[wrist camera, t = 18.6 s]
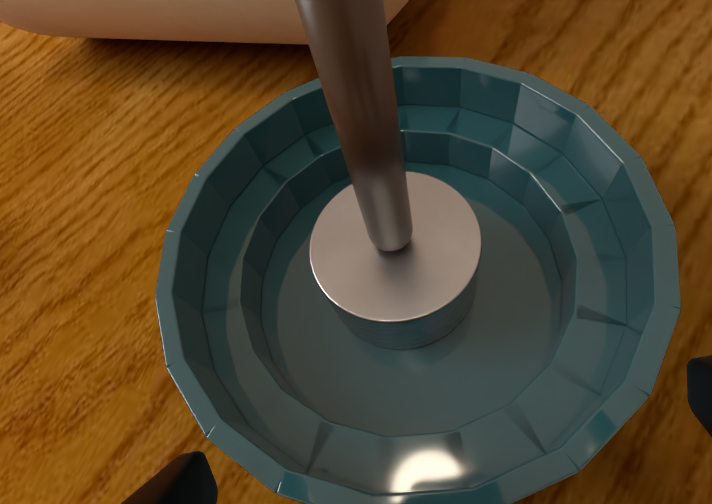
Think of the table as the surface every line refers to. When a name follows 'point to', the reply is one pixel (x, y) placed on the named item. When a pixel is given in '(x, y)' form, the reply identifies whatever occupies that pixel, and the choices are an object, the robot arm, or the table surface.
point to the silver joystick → (383, 197)
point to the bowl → (466, 341)
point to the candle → (166, 19)
